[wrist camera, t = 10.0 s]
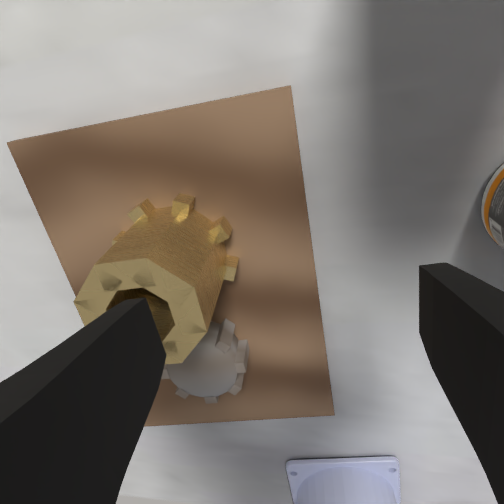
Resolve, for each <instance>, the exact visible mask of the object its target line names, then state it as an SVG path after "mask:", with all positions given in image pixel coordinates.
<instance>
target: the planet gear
mask: <svg viewBox="0 0 504 504" xmlns="http://www.w3.org/2000/svg"><path fill="white" fill-rule="evenodd" d="M194 201H195V196H190V195H186V194H182V193H179V194H178V195H177V197H176V198H175V199H174V200H173V204H172V206H170V207H164V208H157V209H155V207H154V206H153V205H152V203H151V202H150V201H149V199H148V198H147V199H146V200H144V201H143V202H141V203H140V204H138V205H137V206H135V207H134V208H133V209H132V210H131V211H130V212H129V213H128V214H127V215H128V216H129V217H130V219H131V220H132V221H133V222H134V224H133V225H132V226H131V227H130V228H129V229H128V230H127V231H126V232H125V231H121V232H120V233H119V234H118V235H117V236H116V237H115V238H114V239H113V240H112V247H111V248H110V249H109V250H108V251H107V252H106V253H105V254H104V255H103V256H102V257H101V258H100V259H99V260H98V261H97V262H96V263H95V264H94V266H93V268H92V270H91V271H90V273H89V275H88V277H87V279H86V280H85V282H84V284H83V286H82V288H81V289H80V291H79V293H78V295H77V297H76V298H75V300H74V304H75V306H76V308H77V310H78V312H79V315H80V317H81V319H82V321H83V323H84V326H86V325H88V324H89V323H90V322H92V321H93V320H95V319H96V318H98V317H99V316H100V315H102V314H103V313H105V312H106V311H108V310H109V309H111V308H112V307H114V306H115V305H117V304H119V303H121V302H122V301H124V300H128V299H137V298H145V297H146V299H147V302H148V305H149V308H150V310H151V313H152V316H153V319H154V321H155V324H156V327H157V330H158V333H159V335H160V338H161V341H162V344H163V346H164V349H165V352H166V355H167V356H166V360H165V364H177V363H182V362H183V361H184V360H185V359H186V357H187V356H188V355H189V354H190V352H191V351H192V350H193V349H194V348H195V346H196V345H197V344H198V343H199V341H200V340H201V339H202V338H203V336H204V335H205V334H206V333H207V332H208V328H209V325H210V322H211V319H212V315H213V312H214V309H215V306H216V302H217V299H218V296H219V293H220V289H221V286H222V283H223V280H224V279H225V280H229V281H233V282H234V278H235V274H236V270H237V265H238V261H239V257H235V256H230V255H227V252H226V248H225V244H224V240H226V239H228V238H229V237H230V234H231V231H232V229H233V228H232V227H231V225H230V224H229V222H228V221H227V219H226V218H225V217H224V216H222V217H221V218H219V219H217V220H216V221H214V222H213V221H211V220H210V219H208V218H207V217H205V216H204V215H202V214H201V213H199V212H197V211H196V210H194V209H193V208H194Z"/></svg>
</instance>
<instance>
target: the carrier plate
mask: <svg viewBox="0 0 504 504" xmlns="http://www.w3.org/2000/svg"><path fill="white" fill-rule="evenodd" d="M7 145H8V147H9V149H10V152H11V154H12V156H13V158H14V160H15V163H16V165H17V167H18V169H19V172H20V174H21V176H22V178H23V180H24V183H25V185H26V187H27V189H28V191H29V194H30V196H31V198H32V200H33V203H34V205H35V207H36V209H37V211H38V214H39V216H40V218H41V220H42V223H43V225H44V227H45V229H46V231H47V234H48V236H49V238H50V240H51V243H52V245H53V247H54V249H55V251H56V254H57V256H58V258H59V260H60V262H61V265H62V267H63V269H64V271H65V274H66V276H67V278H68V280H69V282H70V285H71V287H72V289H73V291H74V294H75V296H76V297H77V295H78V293H79V291H80V289H81V288H82V286H83V284H84V282H85V280H86V279H87V277H88V275H89V273H90V271H91V270H92V268H93V266H94V264H95V263H96V262H97V261H98V260H99V259H100V258H101V257H102V256H103V255H104V254H105V253H106V252H107V251H108V250H109V249H110V248H111V247H112V240H113V239H114V238H115V237H116V236H117V235H118V234H119V233H120V232H121V231H125V232H126V231H127V230H128V229H129V228H130V227H131V226H132V225H133V224H134V222H133V221H132V220H131V219H130V217H129V216H128V215H127V214H128V213H129V212H130V211H131V210H132V209H133V208H134V207H135V206H137V205H138V204H140V203H141V202H143V201H144V200H146V199H147V198H148V199H149V201H150V202H151V203H152V205H153V206H154V207H155V209H157V208H164V207H170V206H172V204H173V200H174V199H175V198H176V197H177V195H178V194H179V193H182V194H186V195H190V196H195V201H194V208H193V209H194V210H196V211H197V212H199V213H201V214H202V215H204V216H205V217H207V218H208V219H210V220H211V221H213V222H214V221H216V220H217V219H219V218H221V217H222V216H224V217H225V218H226V219H227V221H228V222H229V224H230V225H231V227H232V228H233V229H232V231H231V234H230V237H229V238H228V239H226V240H224V244H225V248H226V252H227V255H230V256H235V257H239V261H238V265H237V270H236V274H235V278H234V282H233V281H229V280H225V279H224V280H223V283H222V286H221V289H220V293H219V296H218V299H217V302H216V306H215V309H214V312H213V315H212V319H211V322H210V325H209V328H208V332H207V333H206V334H205V335H204V336H203V338H202V339H201V340H200V341H199V343H198V344H197V345H196V346H195V348H194V349H193V350H192V351H191V352H190V354H189V355H188V356H187V357H186V359H185V360H184V361H183V362H182V363H177V364H165V365H164V369H163V374H162V377H161V381H160V385H159V389H158V391H157V394H156V397H155V399H154V402H153V405H152V407H151V410H150V412H149V415H148V417H147V420H146V422H145V425H144V426H160V425H177V424H194V423H212V422H229V421H246V420H263V419H280V418H297V417H314V416H331V415H334V408H333V400H332V392H331V385H330V377H329V370H328V362H327V355H326V347H325V340H324V332H323V325H322V317H321V309H320V302H319V294H318V287H317V279H316V272H315V264H314V257H313V249H312V242H311V234H310V227H309V219H308V212H307V204H306V196H305V189H304V181H303V174H302V166H301V159H300V151H299V144H298V136H297V129H296V121H295V114H294V106H293V98H292V91H291V85H290V86H285V87H280V88H275V89H270V90H265V91H260V92H255V93H250V94H245V95H240V96H235V97H230V98H225V99H220V100H215V101H210V102H205V103H200V104H195V105H190V106H185V107H180V108H175V109H170V110H165V111H160V112H154V113H149V114H144V115H139V116H134V117H129V118H124V119H119V120H114V121H109V122H104V123H99V124H94V125H89V126H84V127H79V128H74V129H69V130H64V131H59V132H54V133H49V134H44V135H39V136H34V137H29V138H24V139H19V140H15V141H11V142H7Z"/></svg>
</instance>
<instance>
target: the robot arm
mask: <svg viewBox="0 0 504 504" xmlns="http://www.w3.org/2000/svg"><path fill="white" fill-rule="evenodd" d="M419 333H420V336H421V339H422V342H423V344H424V347H425V350H426V353H427V356H428V358H429V361H430V364H431V366H432V369H433V371H434V373H435V375H436V377H437V379H438V381H439V383H440V385H441V387H442V388H443V390H444V392H445V394H446V396H447V398H448V400H449V402H450V404H451V406H452V408H453V410H454V412H455V414H456V415H457V417H458V419H459V421H460V423H461V425H462V427H463V429H464V431H465V433H466V435H467V437H468V438H469V440H470V442H471V444H472V446H473V448H474V450H475V452H476V454H477V456H478V458H479V460H480V462H481V465H482V467H483V469H484V471H485V473H486V475H487V478H488V480H489V483H490V485H491V488H492V490H493V493H494V495H495V497H496V500H497V502H498V504H504V292H503V291H501V290H499V289H497V288H495V287H493V286H491V285H489V284H487V283H485V282H484V281H482V280H480V279H478V278H476V277H474V276H472V275H470V274H468V273H466V272H464V271H463V270H461V269H459V268H457V267H455V266H453V265H450V264H448V263H437V264H429V265H420V266H419ZM166 356H167V355H166V352H165V349H164V346H163V344H162V341H161V338H160V335H159V333H158V330H157V327H156V324H155V321H154V319H153V316H152V313H151V310H150V308H149V305H148V302H147V299H146V297H145V298H137V299H128V300H124V301H122V302H121V303H119V304H117V305H115V306H114V307H112V308H111V309H109V310H108V311H106V312H105V313H103V314H102V315H100V316H99V317H98V318H96V319H95V320H93V321H92V322H90V323H89V324H88V325H86V326H85V327H83V328H82V329H81V330H79V331H78V332H76V333H75V334H73V335H72V336H71V337H69V338H68V339H66V340H65V341H64V342H62V343H61V344H59V345H58V346H56V347H55V348H53V349H52V350H50V351H49V352H47V353H46V354H44V355H43V356H41V357H40V358H38V359H37V360H35V361H34V362H32V363H31V364H29V365H28V366H26V367H25V368H23V369H22V370H20V371H19V372H17V373H15V374H14V375H12V376H10V377H9V378H7V379H6V380H4V381H2V382H1V383H0V504H116V501H117V497H118V494H119V490H120V487H121V484H122V481H123V478H124V476H125V473H126V470H127V467H128V465H129V462H130V460H131V457H132V455H133V452H134V450H135V447H136V445H137V442H138V440H139V437H140V435H141V432H142V430H143V427H144V425H145V422H146V420H147V417H148V415H149V412H150V410H151V407H152V405H153V402H154V399H155V397H156V394H157V391H158V389H159V385H160V381H161V377H162V374H163V369H164V365H165V360H166ZM286 471H287V476H288V480H289V484H290V489H291V493H292V498H293V502H294V504H401V497H400V468H399V461H398V459H397V458H396V457H394V456H382V457H357V458H332V459H308V460H290V461H288V462H287V463H286Z"/></svg>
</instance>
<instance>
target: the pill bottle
mask: <svg viewBox="0 0 504 504" xmlns="http://www.w3.org/2000/svg"><path fill="white" fill-rule="evenodd" d="M481 214H482V220H483V223H484V226H485V228H486V230H487V232H488V233H489V235H490V236H491V237H492V238H493V240H494V241H495V242H496V243H497V244H498V245H499V246H500V247H501V248H502V249H504V163H503V164H502V165H501V167H500V168H499V169H498V170H497V171H496V172H495V174H494V175H493V177H492V178H491V180H490V181H489V183H488V185H487V186H486V189H485V192H484V194H483V199H482V207H481Z"/></svg>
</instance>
